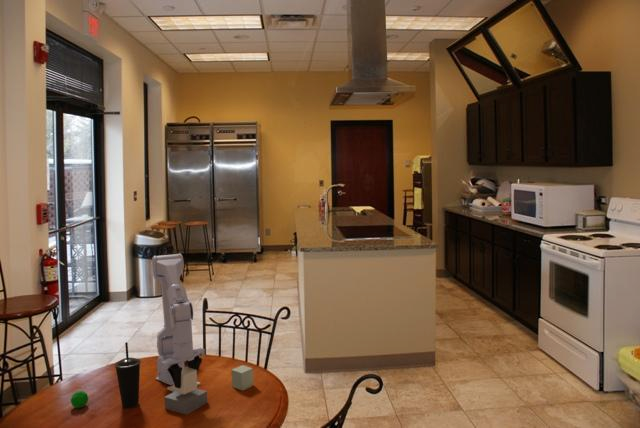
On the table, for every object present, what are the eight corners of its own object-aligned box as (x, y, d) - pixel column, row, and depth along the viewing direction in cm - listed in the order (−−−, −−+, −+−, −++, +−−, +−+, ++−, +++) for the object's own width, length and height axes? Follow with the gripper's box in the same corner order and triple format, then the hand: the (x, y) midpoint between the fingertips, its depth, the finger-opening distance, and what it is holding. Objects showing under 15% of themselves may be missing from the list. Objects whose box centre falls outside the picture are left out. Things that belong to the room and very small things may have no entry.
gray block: (165, 409, 159) (164, 397, 158) (186, 397, 166) (185, 385, 166) (186, 415, 154) (186, 403, 154) (207, 403, 162) (206, 391, 162)
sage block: (232, 387, 173) (231, 369, 172) (243, 382, 177) (242, 365, 176) (242, 390, 170) (241, 373, 169) (253, 385, 174) (252, 368, 173)
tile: (167, 389, 172) (167, 387, 172) (189, 380, 179) (189, 378, 179) (178, 394, 169) (178, 391, 169) (200, 384, 176) (200, 382, 176)
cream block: (174, 390, 159) (173, 371, 159) (187, 384, 163) (186, 366, 163) (184, 394, 156) (183, 375, 156) (197, 388, 160) (196, 369, 160)
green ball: (71, 405, 163) (70, 390, 162) (88, 401, 165) (87, 387, 164) (71, 411, 158) (70, 396, 158) (88, 408, 160) (87, 393, 160)
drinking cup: (118, 412, 157) (114, 348, 155) (116, 402, 164) (111, 341, 162) (145, 406, 160) (141, 344, 158) (141, 397, 167) (137, 337, 165)
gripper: (170, 351, 150) (173, 395, 152) (210, 337, 162) (212, 379, 163) (156, 346, 155) (159, 390, 156) (195, 333, 166) (197, 374, 167)
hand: (185, 384), depth 160 cm, fingers closed on cream block, 5 cm apart
